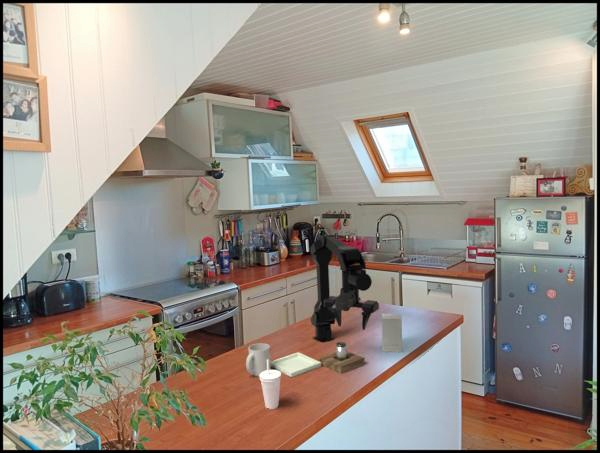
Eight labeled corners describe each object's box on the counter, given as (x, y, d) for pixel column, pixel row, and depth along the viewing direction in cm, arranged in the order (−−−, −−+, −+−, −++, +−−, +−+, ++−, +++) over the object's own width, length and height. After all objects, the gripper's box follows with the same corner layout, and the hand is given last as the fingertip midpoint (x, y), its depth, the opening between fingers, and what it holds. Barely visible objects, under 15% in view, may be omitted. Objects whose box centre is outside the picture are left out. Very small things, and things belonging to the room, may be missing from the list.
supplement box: (402, 352, 170) (401, 319, 168) (381, 351, 171) (381, 318, 170) (401, 345, 177) (401, 313, 176) (382, 344, 178) (381, 312, 177)
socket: (319, 364, 162) (319, 357, 162) (342, 355, 169) (342, 349, 169) (340, 373, 154) (340, 366, 153) (364, 364, 160) (364, 357, 160)
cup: (275, 370, 159) (273, 345, 158) (255, 381, 151) (254, 355, 150) (259, 366, 163) (258, 341, 162) (239, 376, 155) (238, 351, 154)
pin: (334, 364, 162) (334, 343, 161) (342, 361, 164) (341, 341, 163) (341, 367, 159) (340, 346, 158) (348, 364, 161) (348, 343, 160)
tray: (269, 365, 163) (269, 361, 162) (298, 356, 170) (298, 352, 170) (291, 377, 152) (291, 373, 152) (321, 366, 160) (321, 362, 160)
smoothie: (260, 401, 137) (258, 356, 135) (282, 399, 137) (280, 354, 136) (260, 412, 130) (258, 364, 129) (283, 410, 131) (281, 363, 129)
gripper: (315, 287, 157) (317, 331, 159) (366, 292, 148) (367, 339, 150) (330, 280, 167) (331, 321, 169) (379, 284, 157) (380, 329, 159)
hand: (351, 327), depth 161 cm, fingers open, 9 cm apart
